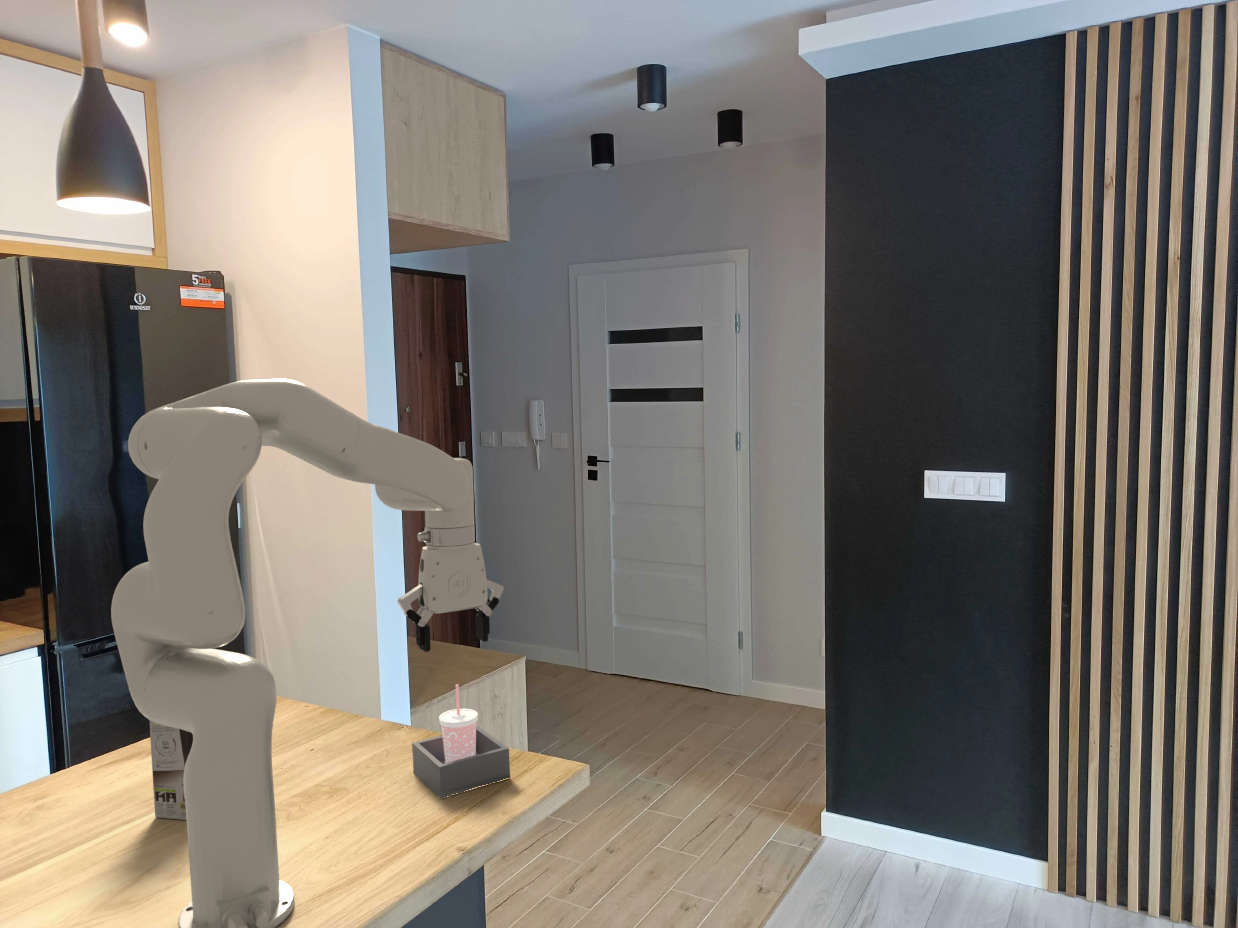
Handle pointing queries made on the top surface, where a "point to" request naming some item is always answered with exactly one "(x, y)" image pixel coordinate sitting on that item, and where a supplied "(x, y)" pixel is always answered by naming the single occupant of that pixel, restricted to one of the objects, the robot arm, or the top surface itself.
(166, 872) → the top surface
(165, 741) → the coffee box
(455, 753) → the beverage cup
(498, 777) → the crate
